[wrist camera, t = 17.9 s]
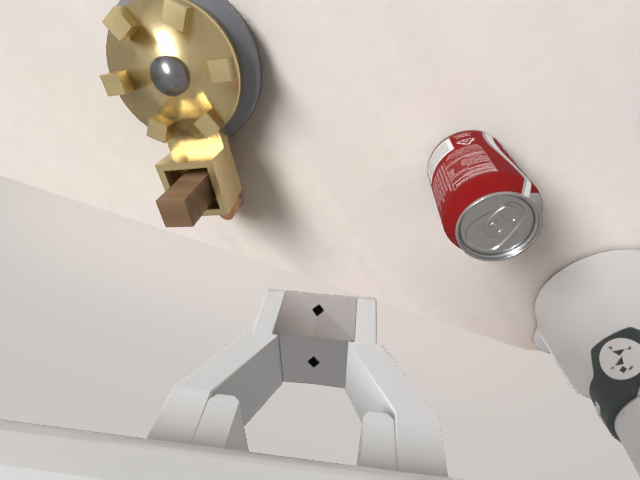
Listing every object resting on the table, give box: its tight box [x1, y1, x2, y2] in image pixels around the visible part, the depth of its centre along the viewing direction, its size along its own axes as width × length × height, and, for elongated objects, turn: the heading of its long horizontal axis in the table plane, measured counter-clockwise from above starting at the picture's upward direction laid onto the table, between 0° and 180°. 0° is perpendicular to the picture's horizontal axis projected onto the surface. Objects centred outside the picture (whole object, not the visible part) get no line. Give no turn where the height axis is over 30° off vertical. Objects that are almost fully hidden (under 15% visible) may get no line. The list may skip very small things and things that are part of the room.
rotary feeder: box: [100, 0, 244, 216], centre depth 31 cm, size 17×11×4 cm, turn 7°
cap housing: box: [108, 0, 262, 220], centre depth 33 cm, size 16×18×3 cm
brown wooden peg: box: [156, 168, 216, 227], centre depth 32 cm, size 2×2×7 cm
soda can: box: [427, 130, 542, 261], centre depth 30 cm, size 7×7×12 cm
